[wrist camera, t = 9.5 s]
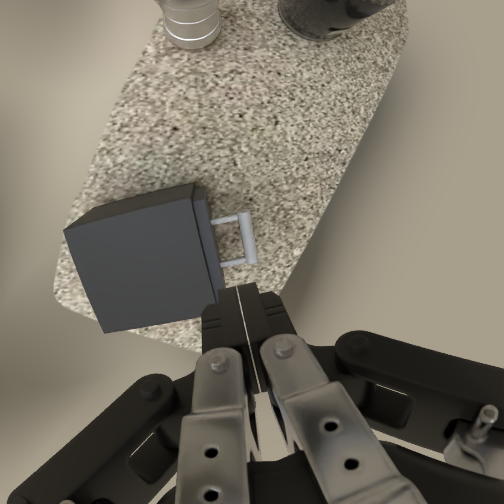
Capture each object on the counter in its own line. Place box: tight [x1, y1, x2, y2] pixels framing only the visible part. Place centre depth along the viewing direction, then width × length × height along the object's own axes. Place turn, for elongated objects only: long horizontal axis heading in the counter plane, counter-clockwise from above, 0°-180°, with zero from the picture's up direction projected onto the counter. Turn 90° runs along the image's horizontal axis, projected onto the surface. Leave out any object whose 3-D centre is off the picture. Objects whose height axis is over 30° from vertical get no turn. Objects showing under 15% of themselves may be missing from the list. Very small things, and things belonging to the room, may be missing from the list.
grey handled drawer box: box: [63, 182, 217, 333], centre depth 34 cm, size 14×13×10 cm
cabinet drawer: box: [192, 186, 259, 303], centre depth 34 cm, size 17×11×8 cm
